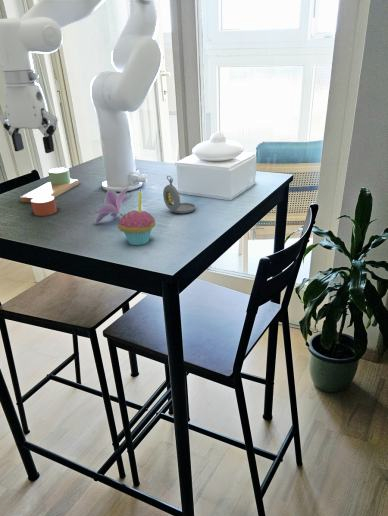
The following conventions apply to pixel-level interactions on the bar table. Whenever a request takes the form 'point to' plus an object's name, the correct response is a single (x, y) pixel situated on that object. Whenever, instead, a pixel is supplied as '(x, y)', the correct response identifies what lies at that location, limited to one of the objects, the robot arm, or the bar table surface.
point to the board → (49, 190)
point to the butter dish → (216, 169)
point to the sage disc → (59, 176)
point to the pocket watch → (175, 200)
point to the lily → (112, 204)
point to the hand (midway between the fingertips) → (34, 151)
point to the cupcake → (137, 225)
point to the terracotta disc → (43, 205)
